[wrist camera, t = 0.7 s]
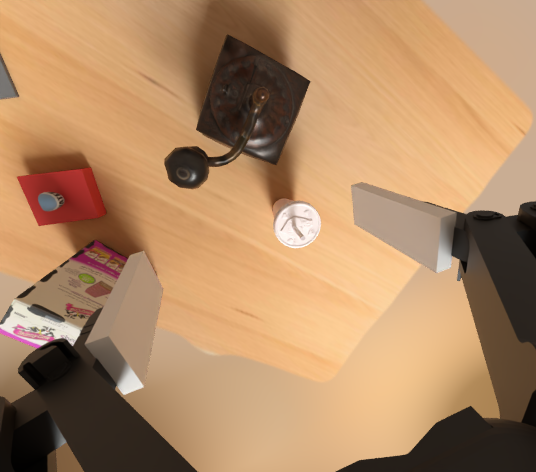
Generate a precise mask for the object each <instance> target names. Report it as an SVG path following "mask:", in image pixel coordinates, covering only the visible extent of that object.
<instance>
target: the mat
mask: <svg viewBox="0 0 536 472" xmlns="http://www.w3.org/2000/svg"><path fill="white" fill-rule="evenodd" d="M14 97H19V95H18V93H17V90H16V88H15V86H14V84H13V81H12V79H11V77H10V75H9V72H8V70H7V68H6V65H5V63H4V61H3V59H2V56H1V54H0V99H7V98H14Z"/></svg>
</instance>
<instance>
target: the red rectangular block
mask: <svg viewBox="0 0 536 472" xmlns="http://www.w3.org/2000/svg"><path fill="white" fill-rule="evenodd" d="M17 178H18V181H19V183H20V185H21V187H22V190H23V192H24V194H25V196H26V198H27V201H28V203H29V205H30V207H31V210H32V212H33V214H34V216H35V218H36V221H37V223H38V225H39V226H42V225H49V224H57V223H64V222H71V221H78V220H86V219H93V218H99V217H101V216H103V215H104V214H106V210H105V207H104V204H103V201H102V198H101V195H100V192H99V189H98V187H97V184H96V181H95V178H94V175H93V172H92V169H91V168H83V169H75V170H66V171H58V172H50V173H41V174H33V175H26V176H19V177H17Z"/></svg>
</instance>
